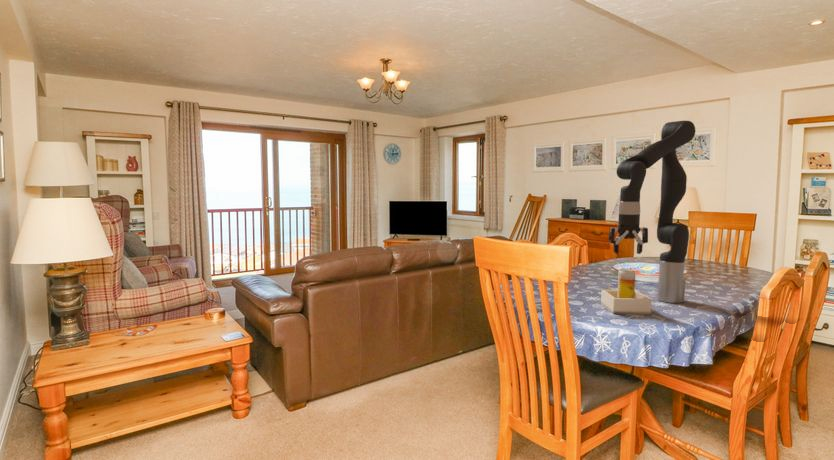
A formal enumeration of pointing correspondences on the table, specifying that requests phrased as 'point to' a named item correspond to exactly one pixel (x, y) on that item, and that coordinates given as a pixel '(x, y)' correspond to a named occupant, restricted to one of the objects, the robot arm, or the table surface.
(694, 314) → the table surface
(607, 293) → the box
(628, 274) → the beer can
